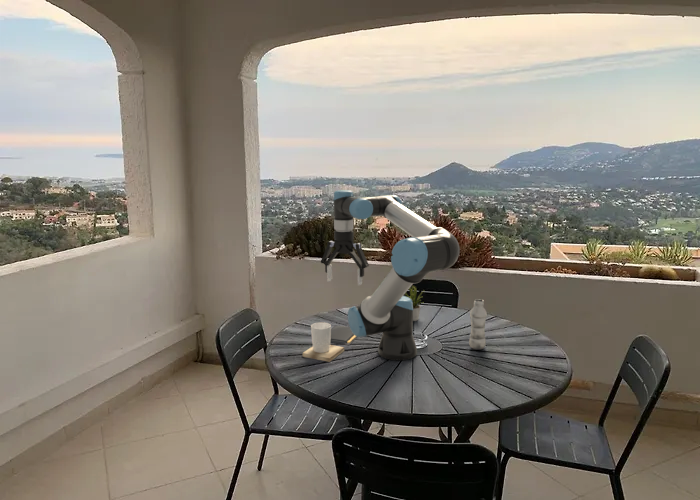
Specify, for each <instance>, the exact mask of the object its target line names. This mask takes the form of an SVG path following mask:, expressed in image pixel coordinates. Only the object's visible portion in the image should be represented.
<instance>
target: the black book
mask: <svg viewBox="0 0 700 500" xmlns="http://www.w3.org/2000/svg"><path fill="white" fill-rule="evenodd" d="M357 339H358V337H356V336H355V335H354V334H353V333H352V331H351V329H350V326H344V325H337V324H336V325H334V326H332V327H331V342H330V344H333V345H335V344H336V345H341V346H344V345H345V346H350V345H351V344H352V343H354V342H355V340H357Z"/></svg>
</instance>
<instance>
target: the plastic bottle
mask: <svg viewBox="0 0 700 500" xmlns="http://www.w3.org/2000/svg"><path fill="white" fill-rule="evenodd" d="M484 303H485V301H484V299H480V298H479V299H478V298H475V299H474V301H473V307H472V308H471V310H470V313H469V316H470V335H469V341H468V344H469V347H470V348H471V349H473V350H478V351H479V350H480V351H481V350H483V349H484V348H485V347H486V343H487V341H486V331H485V330H486V329H485V327H486V322H487V321H486V320H487V315H488V314H487V310H486V309H485V307H484Z"/></svg>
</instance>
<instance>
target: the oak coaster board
mask: <svg viewBox="0 0 700 500" xmlns="http://www.w3.org/2000/svg"><path fill="white" fill-rule="evenodd" d="M344 352H345V347H344V346H339V345H335V344H330V350H329V351H328V352H324V353H318V352H315V351H313V345H312V346H310V348H308V349H307V350H305V351H303V352H302V357H303V358H308V359H314V360H318V361H323V362H327V363H331V361H333V360H335V359H336V358H337V357H338V356H340V355H341V354H342V353H344Z"/></svg>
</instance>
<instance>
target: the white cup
mask: <svg viewBox="0 0 700 500" xmlns="http://www.w3.org/2000/svg"><path fill="white" fill-rule="evenodd" d="M331 328H332V324H330V323H328V322H324V321H323V322H314V323H312V324H310V332H311V333H310V334H311V344H312V346H313V351H315V352H318V353H324V352H328V351H329V350H330V345H331V343H330V342H331Z"/></svg>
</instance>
